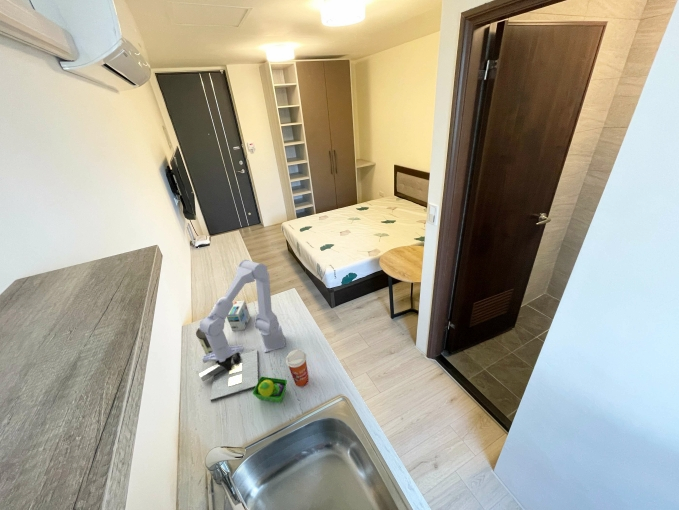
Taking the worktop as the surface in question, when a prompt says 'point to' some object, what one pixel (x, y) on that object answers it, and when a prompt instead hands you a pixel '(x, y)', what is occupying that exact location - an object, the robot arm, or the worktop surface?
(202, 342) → the coffee can
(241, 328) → the light bulb box
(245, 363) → the chassis tray
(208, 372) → the swing bar
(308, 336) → the worktop surface
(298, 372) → the paper cup
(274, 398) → the fruit basket
